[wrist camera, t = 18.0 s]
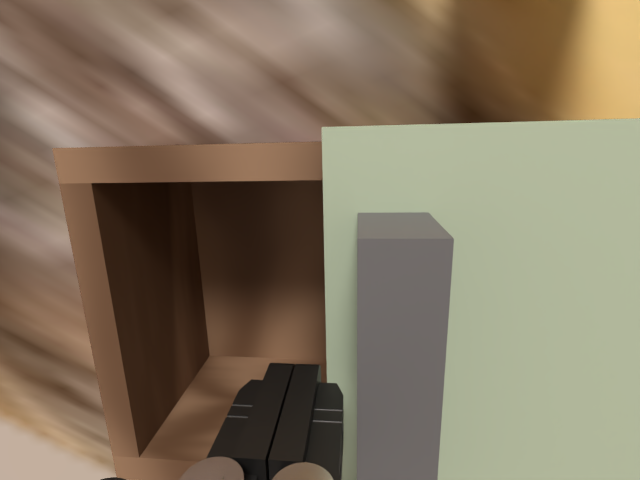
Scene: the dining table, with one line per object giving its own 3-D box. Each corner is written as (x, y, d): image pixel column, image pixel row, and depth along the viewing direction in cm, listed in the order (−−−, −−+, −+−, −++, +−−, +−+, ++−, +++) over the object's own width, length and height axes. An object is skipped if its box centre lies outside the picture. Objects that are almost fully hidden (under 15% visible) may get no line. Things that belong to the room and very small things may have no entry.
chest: (199, 363, 25) (117, 478, 16) (174, 145, 22) (52, 148, 13) (515, 374, 23) (609, 513, 14) (545, 136, 19) (691, 133, 11)
